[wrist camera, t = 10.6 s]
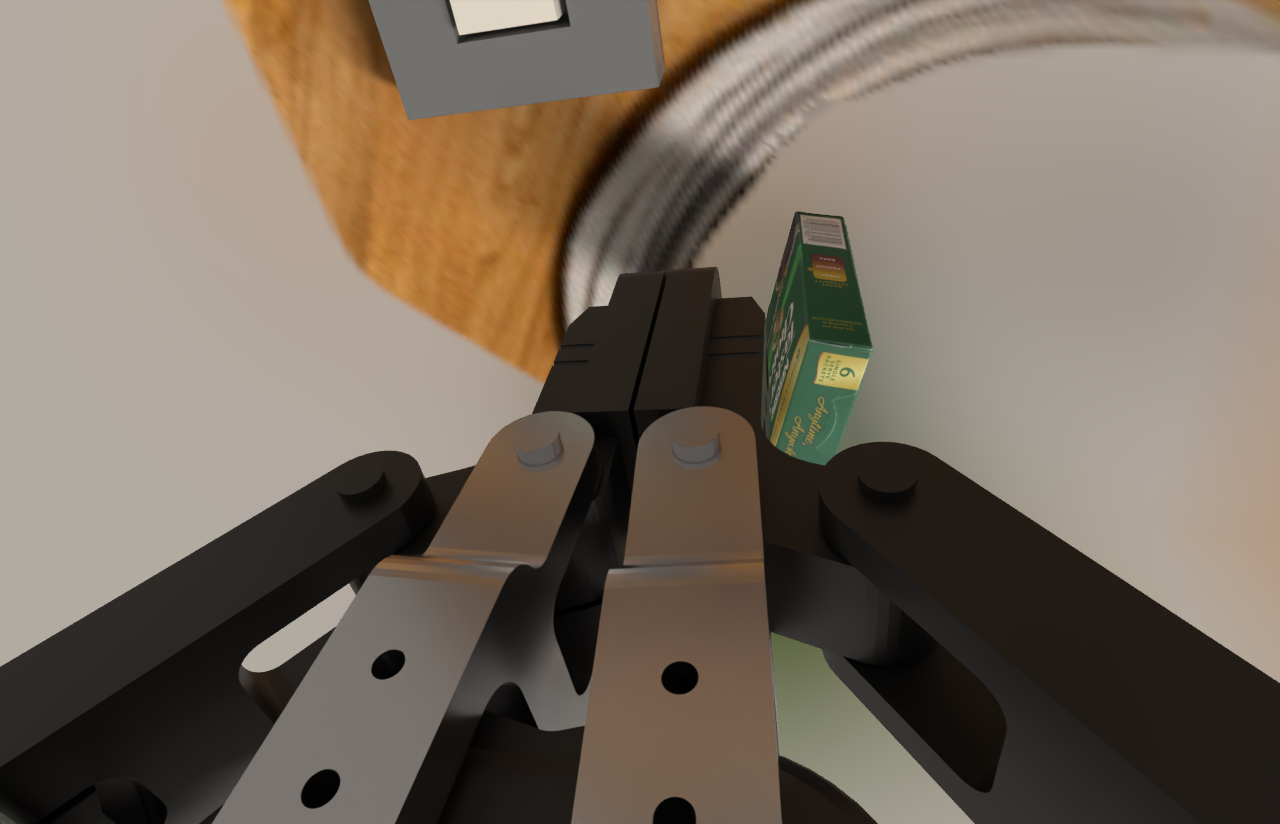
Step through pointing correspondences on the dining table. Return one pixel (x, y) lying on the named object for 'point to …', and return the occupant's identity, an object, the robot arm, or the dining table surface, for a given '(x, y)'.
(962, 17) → the dining table surface
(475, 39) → the button panel
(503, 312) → the dining table surface
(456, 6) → the button cream
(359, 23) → the dining table surface
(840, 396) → the coffee box
